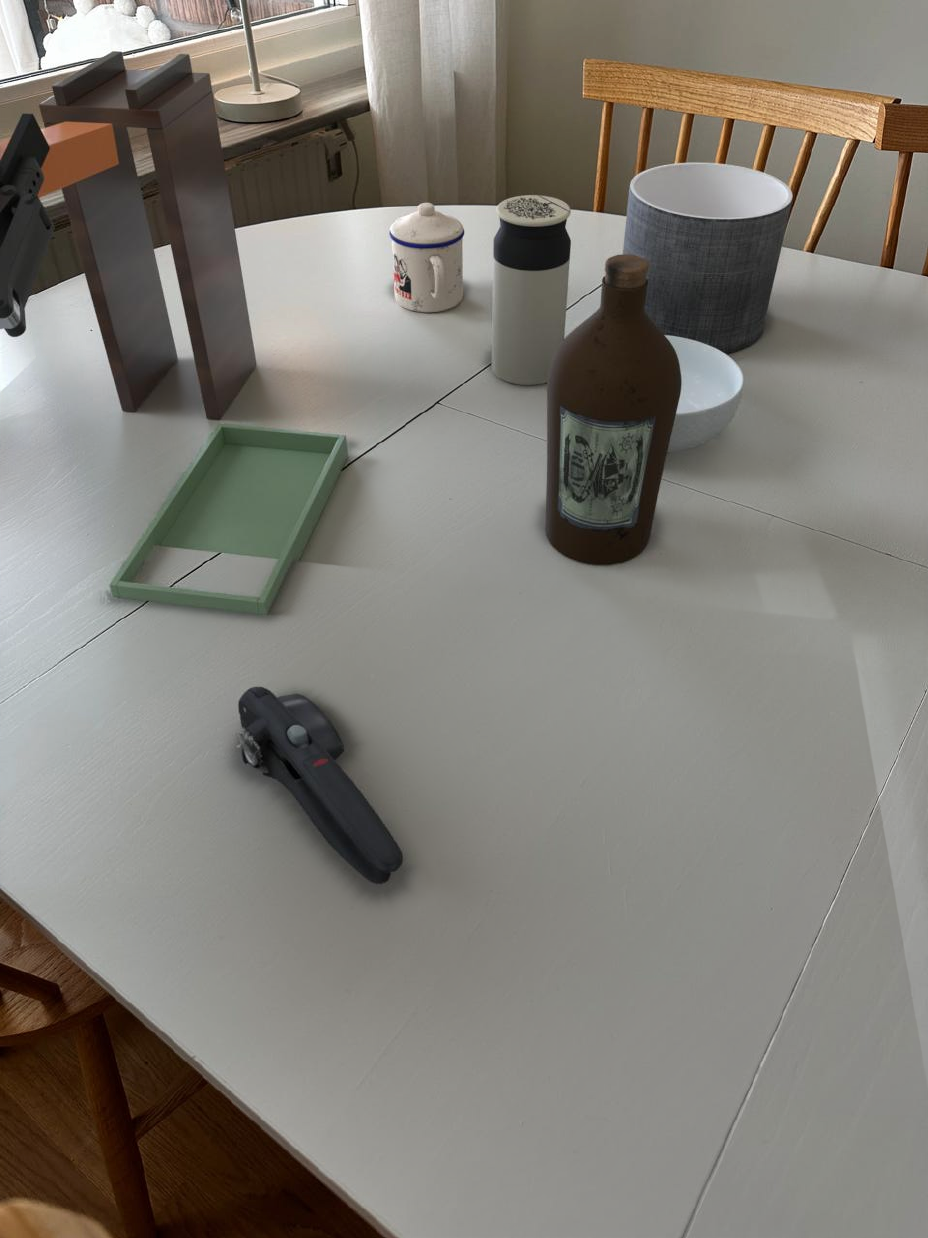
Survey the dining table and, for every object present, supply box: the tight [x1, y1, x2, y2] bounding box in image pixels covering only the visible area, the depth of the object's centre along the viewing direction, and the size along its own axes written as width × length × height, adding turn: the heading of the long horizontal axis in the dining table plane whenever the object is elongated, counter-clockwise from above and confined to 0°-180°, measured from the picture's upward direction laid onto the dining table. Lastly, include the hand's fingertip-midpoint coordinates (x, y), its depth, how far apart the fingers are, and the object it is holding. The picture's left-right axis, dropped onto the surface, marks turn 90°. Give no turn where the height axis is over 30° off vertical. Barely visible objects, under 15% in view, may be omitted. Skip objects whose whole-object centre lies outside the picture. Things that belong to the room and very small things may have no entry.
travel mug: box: [491, 194, 572, 386], centre depth 104 cm, size 8×8×18 cm
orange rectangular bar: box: [0, 122, 119, 199], centre depth 71 cm, size 4×20×3 cm, turn 172°
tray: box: [109, 422, 349, 616], centre depth 89 cm, size 13×25×2 cm, turn 170°
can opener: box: [235, 686, 404, 885], centre depth 65 cm, size 18×7×6 cm, turn 35°
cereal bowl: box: [665, 335, 745, 453], centre depth 98 cm, size 17×17×7 cm
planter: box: [622, 162, 794, 354], centre depth 114 cm, size 18×18×16 cm
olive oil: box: [544, 253, 682, 566], centre depth 80 cm, size 11×11×25 cm
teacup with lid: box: [389, 202, 465, 313], centre depth 119 cm, size 12×9×12 cm
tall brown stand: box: [38, 50, 258, 421], centre depth 97 cm, size 11×12×32 cm
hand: (4, 129), depth 68 cm, fingers closed on orange rectangular bar, 4 cm apart
